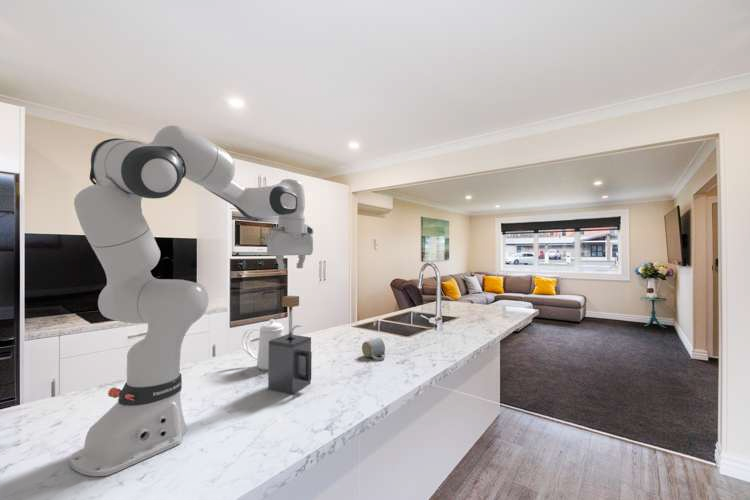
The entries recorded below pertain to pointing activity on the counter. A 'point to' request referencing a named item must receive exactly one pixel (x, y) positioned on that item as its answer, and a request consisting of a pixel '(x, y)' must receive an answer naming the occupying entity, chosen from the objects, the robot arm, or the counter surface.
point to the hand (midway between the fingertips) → (291, 268)
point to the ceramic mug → (374, 349)
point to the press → (289, 364)
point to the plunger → (290, 309)
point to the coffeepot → (266, 341)
